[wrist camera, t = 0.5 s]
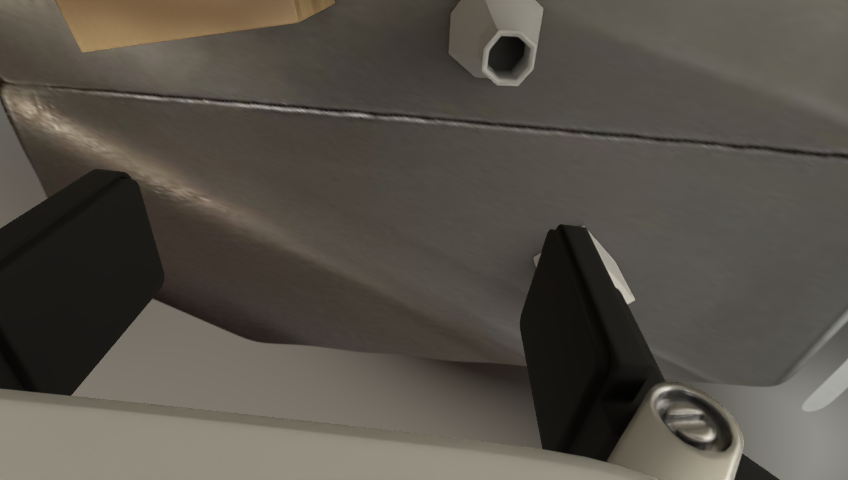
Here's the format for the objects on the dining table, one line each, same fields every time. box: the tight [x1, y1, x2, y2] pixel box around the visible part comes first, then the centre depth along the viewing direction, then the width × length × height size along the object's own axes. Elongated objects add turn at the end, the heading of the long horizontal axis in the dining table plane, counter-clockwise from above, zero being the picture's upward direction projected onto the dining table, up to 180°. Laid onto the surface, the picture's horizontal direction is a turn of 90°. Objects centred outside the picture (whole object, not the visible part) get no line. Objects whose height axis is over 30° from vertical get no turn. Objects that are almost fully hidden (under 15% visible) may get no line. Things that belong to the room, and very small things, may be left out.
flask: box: [448, 0, 544, 86], centre depth 30 cm, size 7×7×10 cm
